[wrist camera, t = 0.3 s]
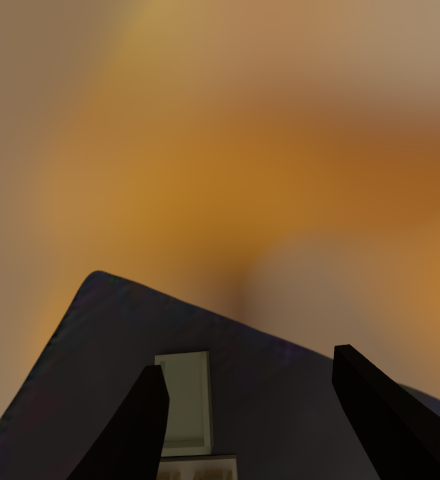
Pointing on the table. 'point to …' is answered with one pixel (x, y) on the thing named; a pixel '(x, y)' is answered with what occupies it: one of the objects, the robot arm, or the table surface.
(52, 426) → the table surface
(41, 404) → the table surface
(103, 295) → the table surface
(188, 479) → the fuse holder
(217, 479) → the fuse
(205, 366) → the tray
